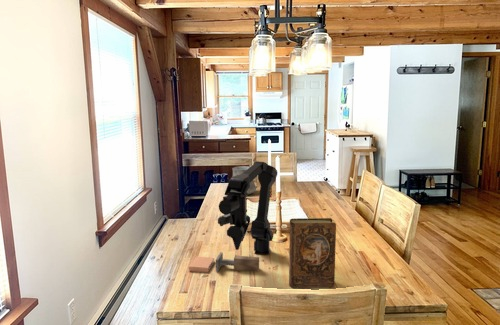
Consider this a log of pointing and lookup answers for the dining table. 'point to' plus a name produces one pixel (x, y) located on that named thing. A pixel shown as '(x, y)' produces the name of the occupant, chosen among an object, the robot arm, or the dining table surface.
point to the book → (312, 253)
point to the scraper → (239, 263)
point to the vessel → (241, 170)
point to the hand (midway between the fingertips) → (239, 245)
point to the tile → (201, 264)
